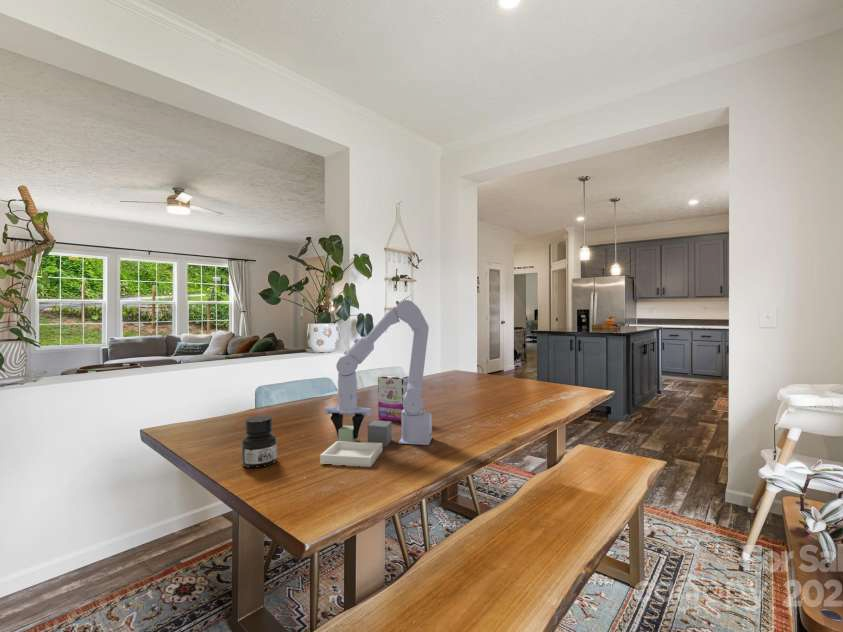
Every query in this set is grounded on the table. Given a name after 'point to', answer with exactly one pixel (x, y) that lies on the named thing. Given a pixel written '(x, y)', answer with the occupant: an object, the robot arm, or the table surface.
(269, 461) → the ink bottle
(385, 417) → the candy bar box
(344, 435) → the sage block
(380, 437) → the gray block
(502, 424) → the table surface
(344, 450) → the tray
